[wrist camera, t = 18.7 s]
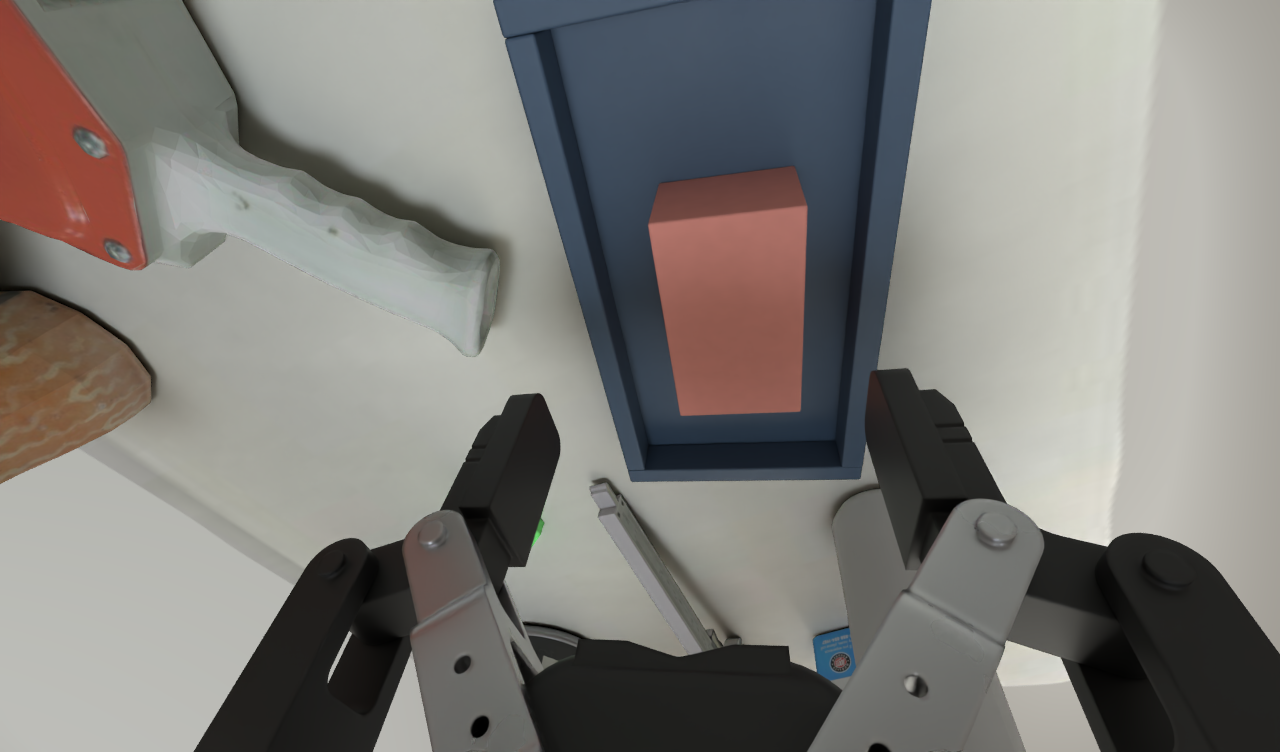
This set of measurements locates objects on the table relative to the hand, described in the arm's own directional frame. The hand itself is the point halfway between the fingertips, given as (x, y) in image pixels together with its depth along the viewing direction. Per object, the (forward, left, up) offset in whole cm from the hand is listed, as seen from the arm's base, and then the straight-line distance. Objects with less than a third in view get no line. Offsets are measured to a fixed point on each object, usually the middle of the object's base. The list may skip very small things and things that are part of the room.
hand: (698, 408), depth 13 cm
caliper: (-21, +3, -7) cm, 22 cm away
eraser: (0, -1, -6) cm, 6 cm away
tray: (0, -1, -7) cm, 7 cm away
